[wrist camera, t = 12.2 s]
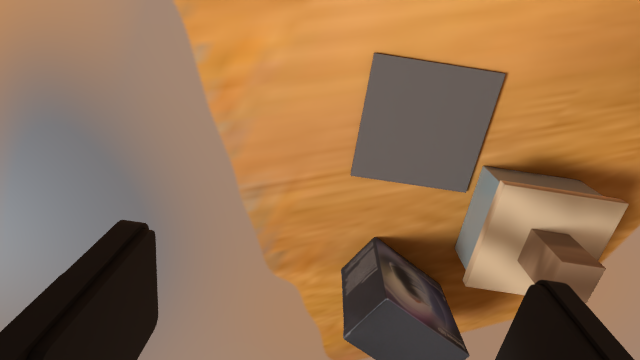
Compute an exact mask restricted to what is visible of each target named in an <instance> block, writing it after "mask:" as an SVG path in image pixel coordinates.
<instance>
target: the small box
mask: <svg viewBox="0 0 640 360" xmlns="http://www.w3.org/2000/svg"><path fill="white" fill-rule="evenodd" d="M341 274H342V290H343V291H342V294H343V313H344V315H343V317H344V331H343V338H344V340H346V341H347V342H349V343H351V344H352V345H354V346H355V347H357V348H358V349H360V350H362V351H363V352H365V353H366V354H368V355H369V356H371V357H372V358H374V359H376V360H465V359H466V358H468V357H469V353H468V351H467V349H466V347H465V344H464V342H463V339H462V337H461V335H460V332H459V330H458V327H457V325H456V323H455V320H454V318H453V315H452V313H451V310H450V308H449V306H448V303H447V301H446V298H445V296H444V293H443V291H442V288H441V286H440V284H438V283H437V282H436V281H434V280H433V279H432V278H430V277H429V276H428V275H426V274H425V273H424V272H422V271H421V270H420V269H418V268H417V267H416V266H414V265H413V264H412V263H410V262H409V261H407V260H406V259H405V258H404V257H402V256H401V255H400V254H398V253H397V252H395V251H394V250H393V249H391V248H390V247H389V246H387V245H386V244H385V243H383V242H382V241H381V240H379V239H378V238H377V237H374V238H373V239H372V240H371V241H370V242H369V243H368V244H367V245H366V246H365V247H364V248H363V249H361V250H360V251H359V252H358V253H357V254H356V255H355V256H354V257H353V258H352V259H351V260H350V261H349V262H348V263H347V264H346V265H345V266H344V267H343V268H342V269H341Z"/></svg>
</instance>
